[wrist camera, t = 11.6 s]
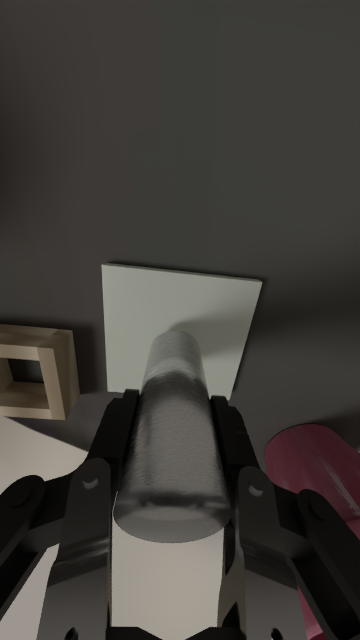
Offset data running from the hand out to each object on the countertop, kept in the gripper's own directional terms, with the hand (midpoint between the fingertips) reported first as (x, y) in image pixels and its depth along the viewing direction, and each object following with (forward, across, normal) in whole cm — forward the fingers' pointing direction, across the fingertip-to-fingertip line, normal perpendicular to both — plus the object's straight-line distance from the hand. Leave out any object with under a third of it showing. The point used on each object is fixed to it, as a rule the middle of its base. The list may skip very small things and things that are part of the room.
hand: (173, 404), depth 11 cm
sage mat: (+8, 0, 0) cm, 8 cm away
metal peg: (+5, 0, 0) cm, 5 cm away
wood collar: (+8, +13, +4) cm, 16 cm away
